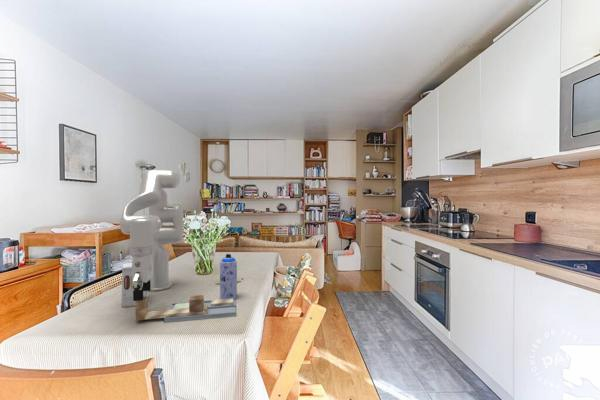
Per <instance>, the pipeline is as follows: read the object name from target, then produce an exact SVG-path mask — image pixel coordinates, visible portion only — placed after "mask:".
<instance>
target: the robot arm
mask: <svg viewBox="0 0 600 400" xmlns="http://www.w3.org/2000/svg"><path fill="white" fill-rule="evenodd" d="M140 180H141V182H140V187H139V192H138V194H137V196H135V197H133V198H131V200H130V201H129V202H127V203H126V205H125V206H124V207H123V210H122V214H121V217H120V226H119V228H120V231H121V232H122V233H123V234H124V235H129V250H130V251H129V252H130V253H129V255H130V257H132V259H131V261H132V262H131V263H132V282H133V301H141V300H143V291H147V292H156V291H163V290H167V289H170V288H172V286H173V283H172V282H171V281H169V279H170V277H169V272H170V271H169V270H170V269H169V265H170V263H169V260H170V258H169V256H170V255H169V250H168V248H167V247H165V245H171V244H173V245H174V244H180V243H182V241H183V239H184V210H183V209H184V208H183V207H182V205H180V204H176V203H170V204H169V203H168V194H167V192H166V191H165V189H176V188H177V187H178V186H179V185H180V183H181V177H180V173H179V171H178V170H175V169H174V170H172V169H146V170H143V171H141V173H140ZM147 208H148V215H147V214H146V215H145V214H142V215H141V214H140V215H139V214H137V215H135V214H136V213H137V212H139V211H141V210H144V209H147ZM163 223H164V224H165V225H163ZM166 223H169V224H168V225H167V224H166ZM170 223H172V225H171V224H170ZM139 284H140V285H139Z"/></svg>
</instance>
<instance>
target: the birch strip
mask: <svg viewBox="0 0 600 400" xmlns="http://www.w3.org/2000/svg"><path fill="white" fill-rule="evenodd" d="M134 306H135V307H134V308H135V309H134V310H135V321H136V322H137V321H144V320H155V319H164V318H167V317H179V316H190V315H201V314H207V311H208V305H205V307H203V311H202V312H191V313H189V308H186V309H174V310H170V309H165V310H151V311H149V296H148V295H147V296H146V297H143V300H141V301H135V305H134Z"/></svg>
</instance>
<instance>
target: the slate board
mask: <svg viewBox="0 0 600 400" xmlns="http://www.w3.org/2000/svg"><path fill="white" fill-rule="evenodd" d="M212 300H213V299H210V300H204V307H205V305H208V311H207V314H201V315H190V316H179V317H167V318H163V323H164V324H165V323H172V322H173V323H174V322H176V323H177V322H185V321H187V322H188V321H195V320H207V319H217V318H218V319H221V318H230V317H231V318H232V317H236V316H237V312H236V311H237V310H236V309H237V308H236V307H237V306H236V299H235V298H233V305H225V306H213V307H211V301H212ZM219 300H221V299H220V298H219ZM179 303H180V302H172V303H171V307H170V308H169V310H173V308H174V306H175V304H179ZM181 303H189V301H183V302H181Z"/></svg>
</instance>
